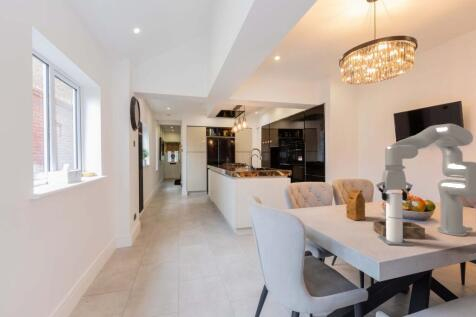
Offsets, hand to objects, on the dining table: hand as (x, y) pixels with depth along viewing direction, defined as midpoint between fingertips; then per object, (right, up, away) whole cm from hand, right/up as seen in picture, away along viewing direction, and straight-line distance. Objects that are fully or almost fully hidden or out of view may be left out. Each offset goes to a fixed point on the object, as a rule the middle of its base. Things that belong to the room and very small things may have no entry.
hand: (394, 200), depth 116 cm
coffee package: (+3, -22, +44) cm, 49 cm away
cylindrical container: (0, -22, 0) cm, 22 cm away
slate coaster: (0, -22, 0) cm, 22 cm away
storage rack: (+10, -22, +11) cm, 26 cm away
